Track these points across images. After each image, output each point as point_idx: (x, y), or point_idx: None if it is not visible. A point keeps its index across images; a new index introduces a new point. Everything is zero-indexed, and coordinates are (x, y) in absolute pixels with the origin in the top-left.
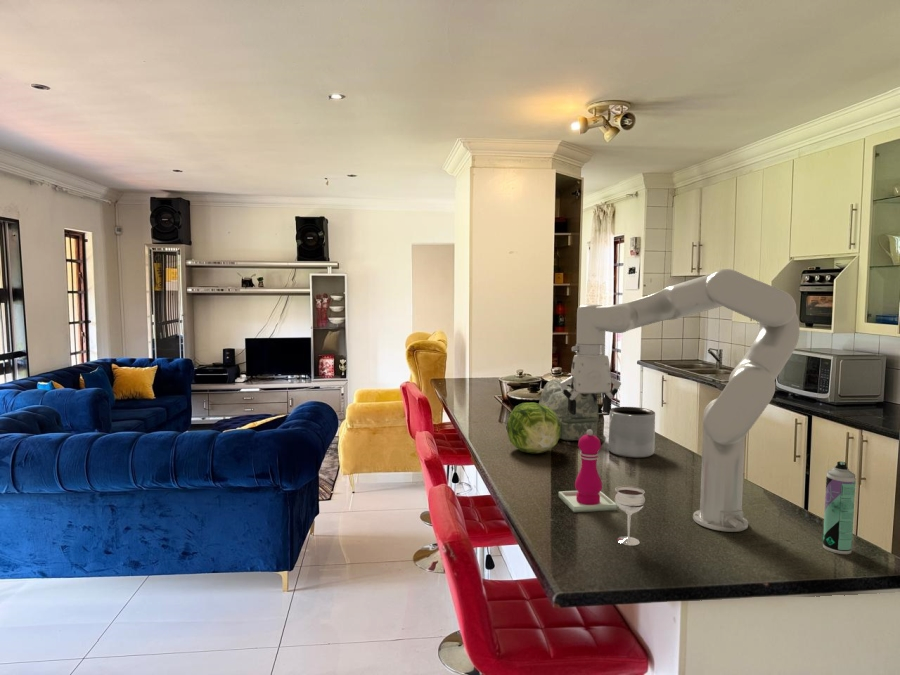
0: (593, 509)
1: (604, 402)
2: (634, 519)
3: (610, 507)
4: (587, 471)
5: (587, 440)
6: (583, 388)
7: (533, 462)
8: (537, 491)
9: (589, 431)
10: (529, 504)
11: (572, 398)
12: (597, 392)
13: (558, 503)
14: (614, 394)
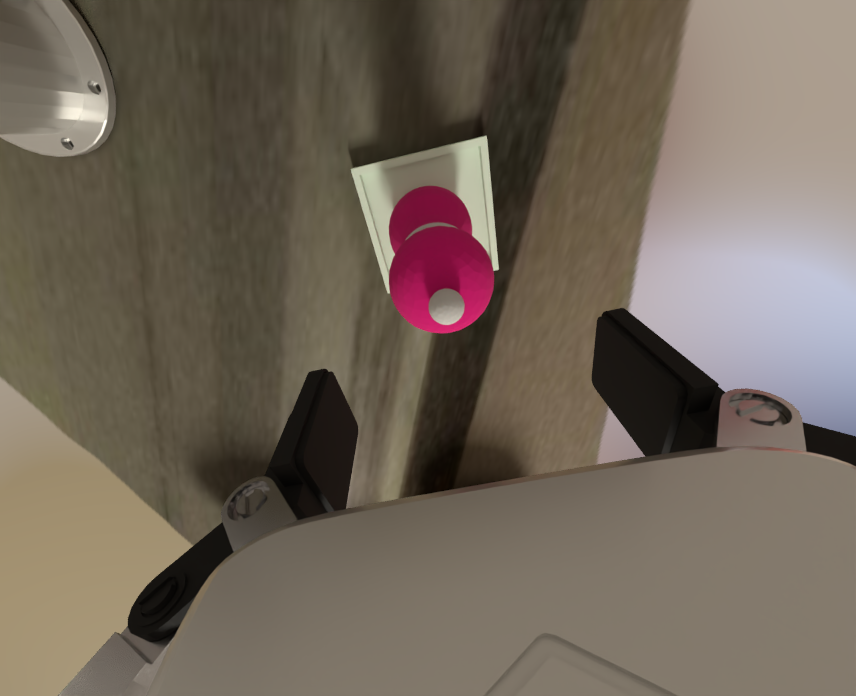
0: (424, 150)
1: (337, 469)
2: (306, 77)
3: (371, 163)
4: (444, 218)
5: (464, 251)
6: (781, 525)
7: (494, 463)
8: (537, 299)
9: (453, 296)
10: (590, 198)
11: (743, 406)
12: (438, 493)
13: (508, 213)
14: (202, 542)
